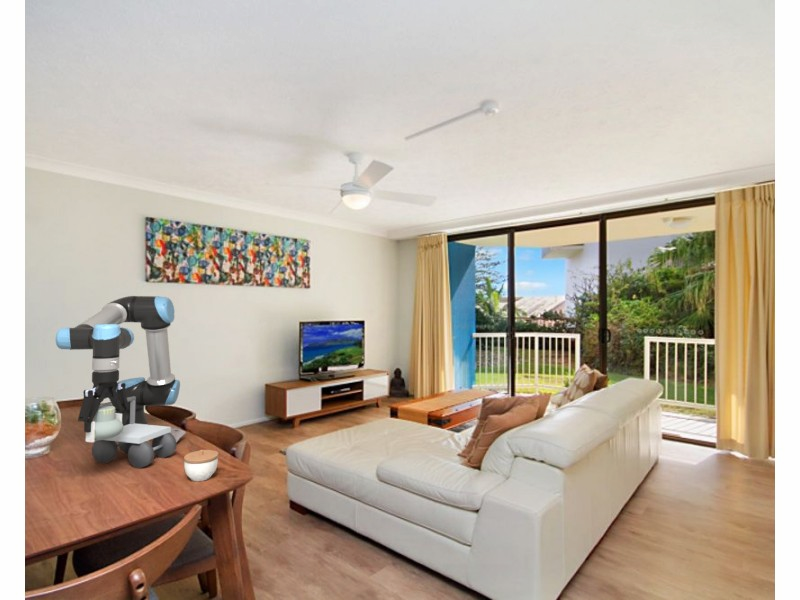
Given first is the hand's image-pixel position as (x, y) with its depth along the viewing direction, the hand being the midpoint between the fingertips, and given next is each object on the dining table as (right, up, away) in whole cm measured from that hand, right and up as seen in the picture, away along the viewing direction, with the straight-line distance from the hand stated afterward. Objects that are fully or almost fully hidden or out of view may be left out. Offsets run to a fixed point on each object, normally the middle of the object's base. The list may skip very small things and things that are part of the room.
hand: (104, 436), depth 144 cm
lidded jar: (+31, -15, +3) cm, 35 cm away
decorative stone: (0, -15, +40) cm, 42 cm away
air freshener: (0, -1, 0) cm, 1 cm away
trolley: (-1, -14, +18) cm, 23 cm away
